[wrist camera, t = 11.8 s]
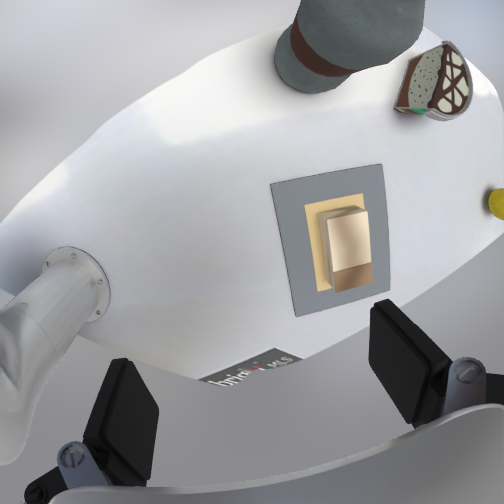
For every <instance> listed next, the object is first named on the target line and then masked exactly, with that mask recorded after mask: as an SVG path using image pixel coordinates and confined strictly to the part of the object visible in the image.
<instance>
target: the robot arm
mask: <svg viewBox="0 0 504 504" xmlns="http://www.w3.org/2000/svg"><path fill="white" fill-rule="evenodd" d="M109 300H110V289H109V284H108V281H107V278H106V276H105V274H104V272H103V270H102V269H101V267H100V266H99V265H98V263H97V262H96V261H95V260H94V259H93V258H92V257H91V256H89V255H88V254H86V253H85V252H83V251H81V250H79V249H75V248H71V247H64V248H59V249H57V250H55V251H54V252H52V253H51V254H50V255H49V256H48V257H47V258H46V260H45V262H44V263H43V267H42V271H41V275H40V276H39V277H37V278H36V279H35V280H34V281H33V282H31V283H30V284H29V285H28V286H27V287H26V288H24V289H23V290H22V291H21V292H20V293H19V294H18V295H17V296H15V297H14V298H13V299H12V300H11V301H10V302H9V303H8V304H7V305H6V306H4V307H3V308H2V309H1V310H0V465H7V464H9V463H11V462H13V461H14V460H16V459H17V457H18V456H19V455H20V453H21V452H22V450H23V448H24V446H25V444H26V441H27V438H28V434H29V430H30V426H31V421H32V418H33V414H34V411H35V408H36V405H37V402H38V400H39V397H40V395H41V393H42V391H43V389H44V387H45V385H46V383H47V381H48V380H49V378H50V376H51V375H52V373H53V371H54V370H55V368H56V366H57V365H58V363H59V362H60V360H61V359H62V357H63V355H64V354H65V352H66V351H67V349H68V348H69V346H70V345H71V343H72V341H73V340H74V338H75V337H76V335H77V334H78V332H79V331H80V329H81V328H82V326H83V325H84V323H90V322H93V321H96V320H97V319H99V318H100V317H101V316H102V315H103V314H104V312H105V311H106V309H107V307H108V304H109ZM369 364H370V366H371V368H372V370H373V371H374V373H375V374H376V376H377V377H378V379H379V380H380V382H381V383H382V385H383V387H384V388H385V390H386V391H387V393H388V394H389V396H390V398H391V399H392V400H393V402H394V404H395V405H396V407H397V408H398V410H399V412H400V413H401V415H402V417H403V418H404V420H405V421H406V423H408V424H410V423H411V424H412V425H413V427H414V428H415V430H413V431H411V432H409V433H406V434H404V435H402V436H399V437H397V438H395V439H392V440H390V441H388V442H385V443H383V444H380V445H378V446H375V447H373V448H370V449H367V450H365V451H362V452H359V453H356V454H354V455H351V456H348V457H345V458H342V459H339V460H336V461H333V462H329V463H326V464H322V465H319V466H315V467H311V468H308V469H304V470H299V471H295V472H292V473H287V474H282V475H277V476H272V477H267V478H262V479H255V480H249V481H243V482H235V483H226V484H217V485H207V486H206V485H205V486H189V487H146V483H147V480H149V479H150V477H151V469H152V460H153V453H154V445H155V438H156V430H157V424H158V417H159V408H158V405H157V404H156V402H155V400H154V399H153V397H152V395H151V393H150V392H149V390H148V389H147V387H146V385H145V383H144V381H143V380H142V378H141V376H140V374H139V372H138V371H137V369H136V367H135V365H134V364H133V362H132V361H129V360H128V359H127V358H119V359H113V360H112V361H111V364H110V366H109V368H108V371H107V373H106V376H105V378H104V381H103V383H102V386H101V388H100V391H99V393H98V396H97V399H96V401H95V404H94V407H93V410H92V412H91V415H90V418H89V420H88V423H87V426H86V429H85V432H84V435H83V438H84V439H83V442H82V443H81V442H78V441H74V442H69V443H67V444H65V445H64V446H63V447H62V448H61V449H60V450H59V453H58V455H57V463H58V466H57V467H55V468H54V469H52V470H51V471H49V472H48V473H46V474H44V475H43V476H41V477H40V478H38V479H36V480H35V481H33V482H32V483H30V484H29V485H28V486H27V488H26V490H25V493H24V497H25V503H24V502H22V501H21V502H20V503H19V504H504V375H499V374H490V373H486V369H485V367H484V365H483V364H482V363H481V362H480V361H479V360H477V359H475V358H471V357H462V358H459V359H457V360H455V361H454V362H453V361H452V360H451V359H450V358H449V357H448V356H447V355H446V354H445V353H444V352H443V351H442V350H441V349H440V348H439V347H438V346H437V345H436V344H435V343H434V342H433V341H432V340H431V339H430V338H429V337H428V336H427V335H426V334H425V333H424V332H423V331H422V330H421V329H420V328H419V327H418V326H417V325H416V324H414V323H413V322H412V321H411V320H410V319H409V318H408V317H407V316H406V315H405V314H404V313H403V312H402V311H401V310H400V309H399V308H398V307H397V306H396V305H395V304H394V303H393V302H392V301H391V300H389V299H385V300H382V301H379V302H376V303H374V307H372V308H371V309H370V339H369ZM424 424H425V425H424ZM422 425H423V426H422ZM420 426H421V427H420ZM417 427H419V428H417ZM416 428H417V429H416ZM134 486H140V487H134Z"/></svg>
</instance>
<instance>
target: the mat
mask: <svg viewBox="0 0 504 504" xmlns="http://www.w3.org/2000/svg"><path fill="white" fill-rule="evenodd" d="M270 185H271V190H272V195H273V199H274V204H275V209H276V214H277V219H278V224H279V229H280V234H281V239H282V244H283V249H284V255H285V260H286V265H287V271H288V276H289V281H290V287H291V292H292V298H293V304H294V309H295V315H296V317H299V316H303V315H307V314H311V313H315V312H318V311H322V310H326V309H329V308H333V307H336V306H340V305H343V304H347V303H350V302H354V301H357V300H360V299H364V298H367V297H370V296H373V295H377V294H380V293H383V292H386V291H389V290H390V248H389V228H388V214H387V202H386V192H385V183H384V174H383V167H382V164H377V165H370V166H364V167H358V168H352V169H346V170H340V171H335V172H329V173H324V174H318V175H313V176H308V177H303V178H298V179H293V180H288V181H283V182H279V183H274V184H270ZM351 205H356V206H358V207H360V208H362V209H364V210H366V211H367V212H368V223H369V235H370V249H371V262H372V280H373V283H369V284H366V285H362V286H359V287H355V288H352V289H348V290H345V291H341V292H338V293H335V291H334V290H333V288H332V287H331V286H330V284H329V283H328V281H327V280H326V273H325V265H324V257H323V249H322V241H321V234H320V227H319V221H318V214H317V213H318V212H323V211H328V210H332V209H337V208H342V207H347V206H351Z"/></svg>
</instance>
